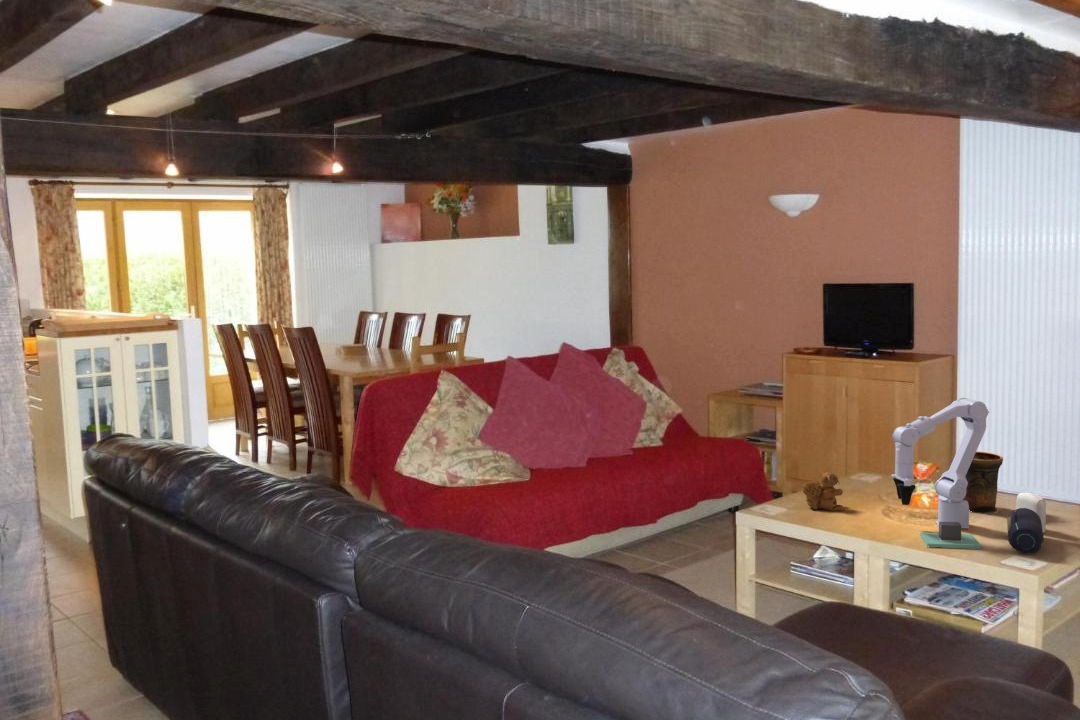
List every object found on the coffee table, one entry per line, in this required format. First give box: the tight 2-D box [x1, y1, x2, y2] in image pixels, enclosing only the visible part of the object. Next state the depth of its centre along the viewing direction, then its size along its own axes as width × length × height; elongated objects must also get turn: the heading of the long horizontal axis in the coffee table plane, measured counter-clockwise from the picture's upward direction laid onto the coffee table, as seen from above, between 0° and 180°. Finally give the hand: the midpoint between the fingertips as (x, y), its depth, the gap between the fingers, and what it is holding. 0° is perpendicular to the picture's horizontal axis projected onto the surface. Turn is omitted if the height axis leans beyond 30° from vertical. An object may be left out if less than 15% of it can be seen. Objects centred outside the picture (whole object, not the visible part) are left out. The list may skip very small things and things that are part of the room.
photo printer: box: [1015, 492, 1047, 534], centre depth 316 cm, size 10×4×12 cm, turn 14°
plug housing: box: [938, 522, 962, 541], centre depth 304 cm, size 6×4×5 cm, turn 78°
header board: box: [919, 532, 982, 550], centre depth 305 cm, size 16×12×4 cm
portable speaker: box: [1006, 508, 1045, 555], centre depth 300 cm, size 25×10×10 cm, turn 154°
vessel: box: [963, 451, 1004, 515], centre depth 342 cm, size 14×14×20 cm
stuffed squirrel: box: [801, 471, 845, 512], centre depth 349 cm, size 10×14×13 cm
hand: (903, 501), depth 320 cm, fingers open, 7 cm apart
